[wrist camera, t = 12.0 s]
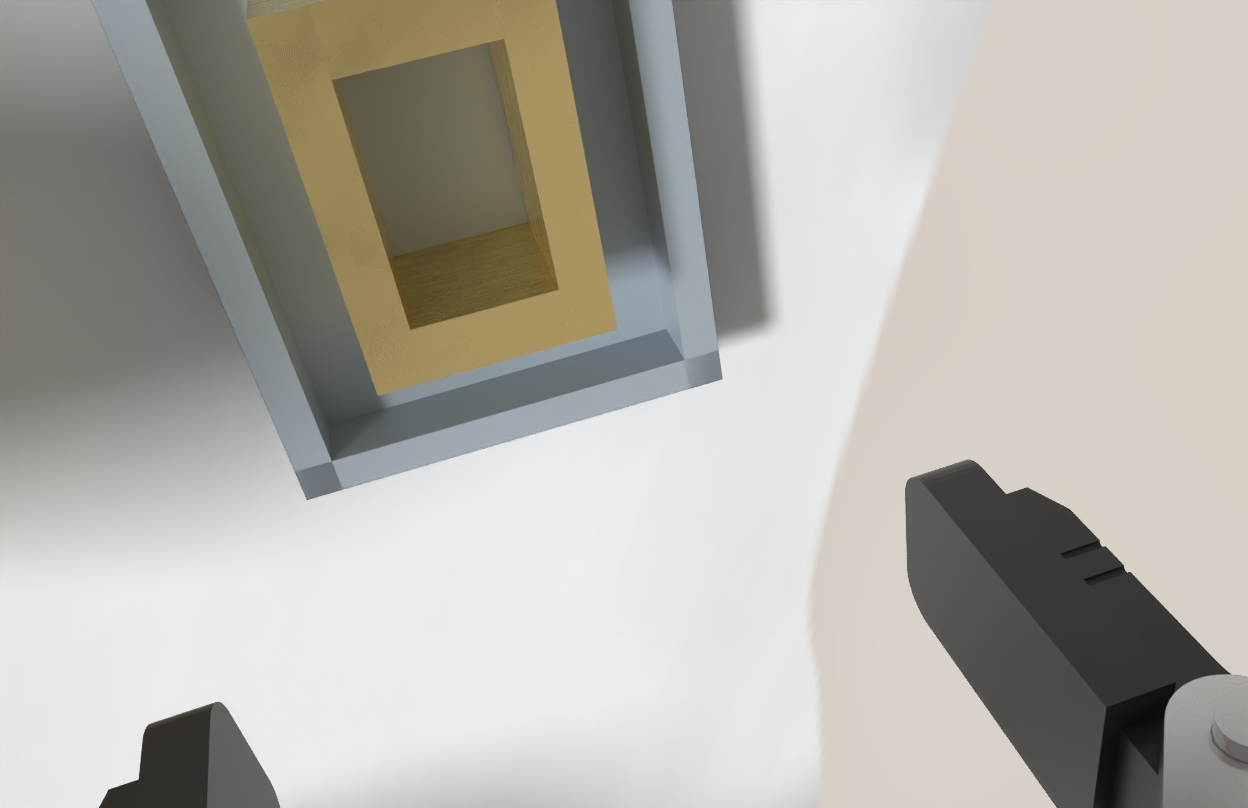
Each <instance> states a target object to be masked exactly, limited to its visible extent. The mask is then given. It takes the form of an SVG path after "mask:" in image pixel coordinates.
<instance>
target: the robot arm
mask: <svg viewBox="0 0 1248 808" xmlns="http://www.w3.org/2000/svg"><path fill="white" fill-rule="evenodd" d="M905 502H906V503H905V504H906V541H907V571H908V578H909V583H910V587H911V589H912V593H913V596H914V599H915V601H916V603H917V606H918V608H919V610H920V612H921V614H922V615H923V617H924V619H925V621H926V622H927V623H928V625H929V627H930V628H931V629H932V631H933V632H934V634H935V635H936V637H937V638H938V639H939V641H940V642H941V644H942V645H943V646H944V648H945V649H946V651H947V652H948V654H949V655H950V656H951V658H952V659H953V661H954V662H955V664H956V665H957V666H958V668H959V669H960V670H961V672H962V673H963V675H964V676H965V678H966V679H967V681H968V682H969V683H970V685H971V686H972V688H973V689H974V690H975V692H976V693H977V695H978V696H979V698H980V699H981V700H982V702H983V703H984V705H985V706H986V708H987V709H988V710H989V711H990V713H991V715H992V716H993V718H994V719H995V720H996V722H997V723H998V724H999V726H1000V727H1001V729H1002V730H1003V732H1004V733H1005V734H1006V736H1007V737H1008V739H1009V740H1010V742H1011V743H1012V744H1013V746H1014V747H1015V749H1016V750H1017V752H1018V753H1019V754H1020V756H1021V757H1022V759H1023V760H1024V761H1025V763H1026V764H1027V766H1028V767H1029V769H1030V770H1031V772H1032V773H1033V774H1034V776H1035V777H1036V779H1037V780H1038V781H1039V783H1040V784H1041V786H1042V787H1043V789H1044V790H1045V791H1046V793H1047V794H1048V796H1049V797H1050V798H1051V800H1052V801H1053V803H1054V804H1055V806H1056V807H1057V808H1248V677H1246V676H1240V675H1231V674H1230V673H1229V672H1227V671H1226V670H1225V669H1224V668H1223V667H1222V666H1221V665H1220V664H1219V663H1218V662H1217V661H1216V660H1215V659H1214V658H1213V657H1212V656H1211V655H1210V654H1209V653H1208V652H1207V651H1206V650H1205V649H1204V648H1203V647H1202V646H1201V645H1200V644H1199V643H1198V642H1197V640H1195V638H1194V637H1193V636H1191V634H1190V633H1189V632H1188V631H1187V630H1186V629H1185V628H1184V627H1183V626H1182V625H1181V624H1180V623H1179V622H1178V621H1177V620H1176V619H1175V618H1174V617H1173V616H1172V615H1171V614H1170V613H1169V612H1168V610H1167V609H1165V608H1164V606H1163V605H1162V604H1161V603H1160V602H1159V601H1158V600H1157V599H1156V598H1155V597H1154V596H1153V595H1152V594H1151V593H1150V592H1149V591H1148V590H1147V589H1146V588H1145V587H1144V586H1143V585H1142V584H1141V583H1140V582H1139V581H1138V580H1137V578H1136V577H1135V576H1134V575H1133V574H1132V573H1131V572H1128V573H1127V572H1126V571H1125V569H1124V565H1123V564H1122V563H1121V562H1120V561H1119V560H1118V559H1117V558H1116V557H1115V556H1114V555H1113V554H1112V553H1111V552H1110V551H1109V549H1108V548H1106V546H1105V547H1102V546H1101V544H1100V540H1099V539H1098V538H1097V537H1096V536H1095V535H1094V534H1093V533H1092V532H1091V531H1090V530H1089V529H1088V528H1087V527H1086V526H1085V525H1084V524H1083V523H1082V522H1081V521H1080V519H1078V517H1077V516H1076V515H1075V514H1074V513H1073V512H1072V511H1071V510H1070V509H1068V508H1066V507H1064V506H1062V505H1060V504H1059V503H1057V502H1055V501H1053V500H1051V499H1049V498H1047V497H1045V496H1043V495H1041V494H1039V493H1037V492H1035V491H1033V490H1031V489H1029V488H1024V489H1021V490H1018V491H1015V492H1012V493H1009V494H1005V493H1004V492H1003V490H1002V489H1001V488H1000V487H999V486H998V485H997V484H996V483H995V481H994V480H993V479H992V478H991V477H990V476H989V475H988V474H987V473H986V472H985V470H984V469H983V468H982V467H981V466H980V465H979V464H977V463H976V462H974V461H972V460H965V461H962V462H959V463H956V464H953V465H950V466H946V467H943V468H940V469H938V470H934V471H931V472H928V473H925V474H922V475H919V476H916V477H913V478H910V479H909V480H908V481H907V483H906V488H905ZM99 808H280V805H279V802H278V799H277V796H276V793H275V791H274V788H273V786H272V784H271V782H270V780H269V779H268V777H267V775H266V773H265V772H264V770H263V768H262V767H261V765H260V763H259V762H258V760H257V758H256V757H255V755H254V753H253V751H252V750H251V748H250V746H249V745H248V743H247V741H246V740H245V738H244V736H243V735H242V733H241V731H240V729H239V728H238V726H237V724H236V723H235V721H234V719H233V718H232V716H231V714H230V713H229V711H228V710H227V708H226V707H225V706H224V705H223V704H222V703H220V702H215V703H212V704H209V705H206V706H203V707H200V708H197V709H194V710H191V711H188V712H185V713H182V714H178V715H175V716H172V717H169V718H166V719H163V720H160V721H157V722H154V723H151V724H149V725H148V726H147V727H146V729H145V732H144V735H143V742H142V752H141V762H140V772H139V780H136V781H133V782H130V783H127V784H124V785H121V786H118V787H115V788H112V789H109V790H108V792H107V794H106V796H105V798H104V799H103V801H102V803H101V805H100V807H99Z"/></svg>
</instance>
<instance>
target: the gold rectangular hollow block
mask: <svg viewBox="0 0 1248 808" xmlns="http://www.w3.org/2000/svg"><path fill="white" fill-rule="evenodd" d="M246 21H247V24H248V26H249V29H250V32H251V35H252V38H253V41H254V44H255V46H256V49H257V52H258V55H259V58H260V61H261V64H262V66H263V69H264V72H265V75H266V78H267V81H268V84H269V86H270V89H271V92H272V95H273V98H274V101H275V104H276V106H277V109H278V112H279V115H280V118H281V121H282V124H283V126H284V129H285V132H286V135H287V138H288V141H289V144H290V146H291V149H292V152H293V155H294V158H295V161H296V164H297V166H298V169H299V172H300V175H301V178H302V181H303V184H304V186H305V189H306V192H307V195H308V198H309V201H310V204H311V206H312V209H313V212H314V215H315V218H316V221H317V224H318V226H319V229H320V232H321V235H322V238H323V241H324V244H325V246H326V249H327V252H328V255H329V258H330V261H331V263H332V266H333V269H334V272H335V275H336V278H337V281H338V283H339V286H340V289H341V292H342V295H343V298H344V301H345V303H346V306H347V309H348V312H349V315H350V318H351V321H352V323H353V326H354V329H355V332H356V335H357V338H358V341H359V343H360V346H361V349H362V352H363V355H364V358H365V361H366V363H367V366H368V369H369V372H370V375H371V378H372V381H373V383H374V386H375V389H376V392H377V395H378V396H379V395H383V394H387V393H390V392H394V391H397V390H401V389H405V388H408V387H412V386H415V385H419V384H423V383H426V382H430V381H434V380H437V379H441V378H444V377H448V376H452V375H455V374H459V373H462V372H466V371H470V370H473V369H477V368H481V367H484V366H488V365H491V364H495V363H499V362H502V361H506V360H510V359H513V358H517V357H520V356H524V355H528V354H531V353H535V352H538V351H542V350H546V349H549V348H553V347H557V346H560V345H564V344H567V343H571V342H575V341H578V340H582V339H585V338H589V337H593V336H596V335H600V334H604V333H607V332H611V331H614V330H617V324H616V319H615V314H614V308H613V303H612V298H611V292H610V287H609V282H608V276H607V271H606V266H605V260H604V255H603V250H602V244H601V239H600V234H599V228H598V223H597V218H596V212H595V207H594V202H593V196H592V191H591V186H590V180H589V175H588V170H587V164H586V159H585V154H584V148H583V143H582V138H581V132H580V127H579V122H578V116H577V111H576V106H575V100H574V95H573V90H572V84H571V79H570V74H569V68H568V63H567V58H566V52H565V47H564V42H563V36H562V31H561V26H560V20H559V15H558V10H557V4H556V0H247V13H246ZM485 43H487V46H488V50H489V55H490V59H491V63H492V68H493V72H494V77H495V81H496V85H497V90H498V94H499V99H500V103H501V107H502V112H503V116H504V121H505V125H506V129H507V134H508V138H509V142H510V147H511V151H512V156H513V160H514V164H515V169H516V173H517V178H518V182H519V186H520V191H521V195H522V199H523V204H524V208H525V213H526V217H527V221H528V222H525V223H521V224H517V225H514V226H510V227H506V228H502V229H498V230H494V231H491V232H487V233H483V234H479V235H475V236H471V237H468V238H464V239H460V240H456V241H452V242H448V243H445V244H441V245H437V246H433V247H429V248H426V249H422V250H418V251H414V252H410V253H406V254H403V255H399V256H394V252H393V249H392V246H391V243H390V240H389V236H388V233H387V230H386V227H385V224H384V220H383V217H382V214H381V211H380V207H379V204H378V201H377V198H376V195H375V191H374V188H373V185H372V182H371V179H370V175H369V172H368V169H367V166H366V162H365V159H364V156H363V153H362V150H361V146H360V143H359V140H358V137H357V134H356V130H355V127H354V124H353V121H352V118H351V114H350V111H349V108H348V105H347V101H346V98H345V95H344V92H343V89H342V85H341V82H340V79H339V78H343V77H347V76H351V75H355V74H360V73H364V72H368V71H372V70H376V69H380V68H385V67H389V66H393V65H397V64H401V63H405V62H410V61H414V60H418V59H422V58H426V57H430V56H435V55H439V54H443V53H447V52H451V51H455V50H460V49H464V48H468V47H472V46H476V45H480V44H485Z"/></svg>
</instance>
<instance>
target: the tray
mask: <svg viewBox="0 0 1248 808" xmlns="http://www.w3.org/2000/svg"><path fill="white" fill-rule="evenodd" d="M91 2H92V4H93V6H94V9H95V11H96V13H97V16H98V18H99V20H100V23H101V25H102V27H103V30H104V32H105V34H106V36H107V39H108V41H109V43H110V46H111V48H112V50H113V53H114V55H115V57H116V60H117V62H118V64H119V67H120V69H121V71H122V73H123V76H124V78H125V80H126V83H127V85H128V87H129V90H130V92H131V94H132V97H133V99H134V101H135V104H136V106H137V108H138V110H139V113H140V115H141V117H142V120H143V122H144V124H145V127H146V129H147V131H148V134H149V136H150V138H151V140H152V143H153V145H154V147H155V150H156V152H157V154H158V157H159V159H160V161H161V164H162V166H163V168H164V171H165V173H166V175H167V177H168V180H169V182H170V184H171V187H172V189H173V191H174V194H175V196H176V198H177V201H178V203H179V205H180V208H181V210H182V212H183V214H184V217H185V219H186V221H187V224H188V226H189V228H190V231H191V233H192V235H193V238H194V240H195V242H196V245H197V247H198V249H199V251H200V254H201V256H202V258H203V261H204V263H205V265H206V268H207V270H208V272H209V275H210V277H211V279H212V281H213V284H214V286H215V288H216V291H217V293H218V295H219V298H220V300H221V302H222V305H223V307H224V309H225V312H226V314H227V316H228V318H229V321H230V323H231V325H232V328H233V330H234V332H235V335H236V337H237V339H238V342H239V344H240V346H241V349H242V351H243V353H244V355H245V358H246V360H247V362H248V365H249V367H250V369H251V372H252V374H253V376H254V379H255V381H256V383H257V386H258V388H259V390H260V392H261V395H262V397H263V399H264V402H265V404H266V406H267V409H268V411H269V413H270V416H271V418H272V420H273V422H274V425H275V427H276V429H277V432H278V434H279V436H280V439H281V441H282V443H283V446H284V448H285V450H286V453H287V455H288V457H289V459H290V462H291V464H292V466H293V469H294V471H295V473H296V476H297V478H298V480H299V483H300V485H301V487H302V490H303V492H304V494H305V496H306V499H307V500H309V499H312V498H316V497H319V496H322V495H326V494H329V493H333V492H336V491H340V490H343V489H347V488H350V487H353V486H357V485H360V484H364V483H367V482H371V481H374V480H377V479H381V478H384V477H388V476H391V475H395V474H398V473H402V472H405V471H408V470H412V469H415V468H419V467H422V466H426V465H429V464H432V463H436V462H439V461H443V460H446V459H450V458H453V457H457V456H460V455H463V454H467V453H470V452H474V451H477V450H481V449H484V448H488V447H491V446H494V445H498V444H501V443H505V442H508V441H512V440H515V439H518V438H522V437H525V436H529V435H532V434H536V433H539V432H543V431H546V430H549V429H553V428H556V427H560V426H563V425H567V424H570V423H573V422H577V421H580V420H584V419H587V418H591V417H594V416H598V415H601V414H604V413H608V412H611V411H615V410H618V409H622V408H625V407H629V406H632V405H635V404H639V403H642V402H646V401H649V400H653V399H656V398H659V397H663V396H666V395H670V394H673V393H677V392H680V391H684V390H687V389H690V388H694V387H697V386H701V385H704V384H708V383H711V382H714V381H718V380H721V379H722V373H721V365H720V358H719V350H718V343H717V335H716V328H715V320H714V313H713V305H712V298H711V290H710V283H709V275H708V268H707V260H706V253H705V245H704V238H703V230H702V223H701V215H700V208H699V200H698V193H697V185H696V178H695V170H694V163H693V155H692V148H691V140H690V133H689V125H688V118H687V110H686V103H685V95H684V88H683V80H682V73H681V65H680V58H679V50H678V43H677V35H676V28H675V20H674V13H673V5H672V0H556V4H557V10H558V15H559V20H560V26H561V31H562V36H563V42H564V47H565V52H566V58H567V63H568V68H569V74H570V79H571V84H572V90H573V95H574V100H575V106H576V111H577V116H578V122H579V127H580V132H581V138H582V143H583V148H584V154H585V159H586V164H587V170H588V175H589V180H590V186H591V191H592V196H593V202H594V207H595V212H596V218H597V223H598V228H599V234H600V239H601V244H602V250H603V255H604V260H605V266H606V271H607V276H608V282H609V287H610V292H611V298H612V303H613V308H614V314H615V319H616V324H617V330H614V331H611V332H607V333H604V334H600V335H596V336H593V337H589V338H585V339H582V340H578V341H575V342H571V343H567V344H564V345H560V346H557V347H553V348H549V349H546V350H542V351H538V352H535V353H531V354H528V355H524V356H520V357H517V358H513V359H510V360H506V361H502V362H499V363H495V364H491V365H488V366H484V367H481V368H477V369H473V370H470V371H466V372H462V373H459V374H455V375H452V376H448V377H444V378H441V379H437V380H434V381H430V382H426V383H423V384H419V385H415V386H412V387H408V388H405V389H401V390H397V391H394V392H390V393H387V394H383V395H379V396H378V395H377V392H376V389H375V386H374V383H373V381H372V378H371V375H370V372H369V369H368V366H367V363H366V361H365V358H364V355H363V352H362V349H361V346H360V343H359V341H358V338H357V335H356V332H355V329H354V326H353V323H352V321H351V318H350V315H349V312H348V309H347V306H346V303H345V301H344V298H343V295H342V292H341V289H340V286H339V283H338V281H337V278H336V275H335V272H334V269H333V266H332V263H331V261H330V258H329V255H328V252H327V249H326V246H325V244H324V241H323V238H322V235H321V232H320V229H319V226H318V224H317V221H316V218H315V215H314V212H313V209H312V206H311V204H310V201H309V198H308V195H307V192H306V189H305V186H304V184H303V181H302V178H301V175H300V172H299V169H298V166H297V164H296V161H295V158H294V155H293V152H292V149H291V146H290V144H289V141H288V138H287V135H286V132H285V129H284V126H283V124H282V121H281V118H280V115H279V112H278V109H277V106H276V104H275V101H274V98H273V95H272V92H271V89H270V86H269V84H268V81H267V78H266V75H265V72H264V69H263V66H262V64H261V61H260V58H259V55H258V52H257V49H256V46H255V44H254V41H253V38H252V35H251V32H250V29H249V26H248V24H247V21H246V13H247V0H91ZM339 79H340V82H341V85H342V89H343V92H344V95H345V98H346V101H347V105H348V108H349V111H350V114H351V118H352V121H353V124H354V127H355V130H356V134H357V137H358V140H359V143H360V146H361V150H362V153H363V156H364V159H365V162H366V166H367V169H368V172H369V175H370V179H371V182H372V185H373V188H374V191H375V195H376V198H377V201H378V204H379V207H380V211H381V214H382V217H383V220H384V224H385V227H386V230H387V233H388V236H389V240H390V243H391V246H392V249H393V252H394V256H399V255H403V254H406V253H410V252H414V251H418V250H422V249H426V248H429V247H433V246H437V245H441V244H445V243H448V242H452V241H456V240H460V239H464V238H468V237H471V236H475V235H479V234H483V233H487V232H491V231H494V230H498V229H502V228H506V227H510V226H514V225H517V224H521V223H525V222H528V221H527V217H526V213H525V208H524V204H523V199H522V195H521V191H520V186H519V182H518V178H517V173H516V169H515V164H514V160H513V156H512V151H511V147H510V142H509V138H508V134H507V129H506V125H505V121H504V116H503V112H502V107H501V103H500V99H499V94H498V90H497V85H496V81H495V77H494V72H493V68H492V63H491V59H490V55H489V50H488V46H487V43H485V44H480V45H476V46H472V47H468V48H464V49H460V50H455V51H451V52H447V53H443V54H439V55H435V56H430V57H426V58H422V59H418V60H414V61H410V62H405V63H401V64H397V65H393V66H389V67H385V68H380V69H376V70H372V71H368V72H364V73H360V74H355V75H351V76H347V77H343V78H339Z"/></svg>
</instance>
